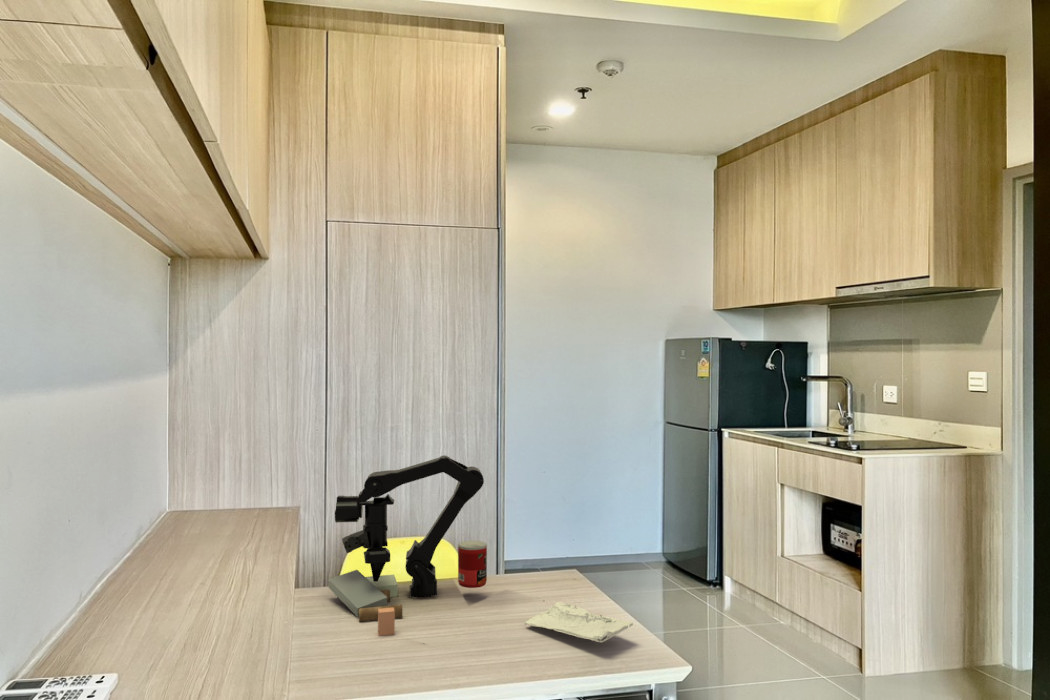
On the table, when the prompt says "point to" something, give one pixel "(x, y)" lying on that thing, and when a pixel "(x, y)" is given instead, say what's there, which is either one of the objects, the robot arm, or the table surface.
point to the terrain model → (578, 622)
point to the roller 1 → (386, 594)
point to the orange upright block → (386, 621)
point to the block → (386, 584)
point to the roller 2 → (372, 612)
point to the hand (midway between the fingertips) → (375, 581)
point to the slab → (356, 591)
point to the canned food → (472, 564)
